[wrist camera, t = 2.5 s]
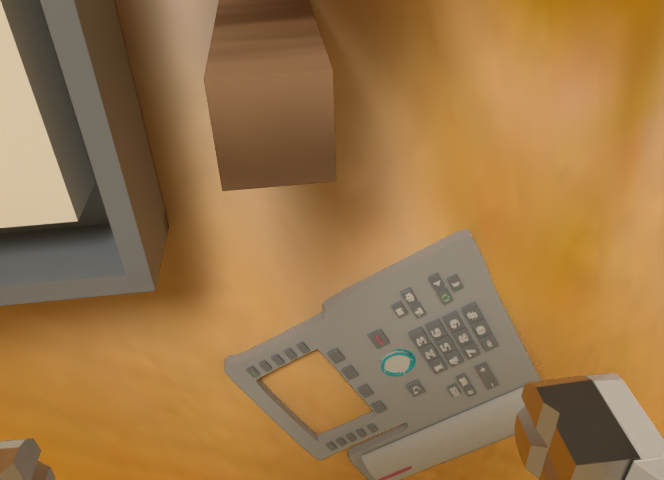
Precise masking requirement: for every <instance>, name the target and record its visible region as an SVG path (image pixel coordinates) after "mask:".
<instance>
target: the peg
mask: <svg viewBox="0 0 664 480" xmlns="http://www.w3.org/2000/svg"><path fill="white" fill-rule="evenodd" d="M204 84H205V90H206V96H207V102H208V108H209V114H210V120H211V126H212V132H213V138H214V144H215V150H216V156H217V162H218V168H219V174H220V180H221V186H222V191H230V190H242V189H253V188H265V187H277V186H289V185H300V184H312V183H324V182H335V181H336V151H335V120H334V89H333V69H332V66H331V63H330V60H329V57H328V54H327V51H326V48H325V45H324V42H323V40H322V37H321V34H320V31H319V28H318V25H317V22H316V19H315V16H314V13H313V10H312V8H311V5H310V2H309V0H219V4H218V9H217V14H216V19H215V24H214V29H213V34H212V39H211V44H210V50H209V55H208V60H207V65H206V70H205V75H204Z"/></svg>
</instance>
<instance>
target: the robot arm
mask: <svg viewBox="0 0 664 480" xmlns="http://www.w3.org/2000/svg"><path fill="white" fill-rule="evenodd" d="M521 398H522V400H523V402H524V404H525V407H524V408H523V409H521V410H520V411H519V412H518V413H517V416H516V421H515V438H516V444H517V448H518V451H519V455H520V457H521V459H522V462H523V464H524V467H525V468H526V469H527V470H528V471H530V472H531V473H532V474H533V475H535V476H536V477H537V478H539V480H664V439H663V437H662V436H661V434H660V433H659V432H658V430H657V429H656V427H655V426H654V424H653V423H652V421H651V420H650V419H649V417H648V416H647V414H646V413H645V411H644V410H643V408H642V407H641V406H640V404H639V403H638V401H637V400H636V398H635V397H634V395H633V394H632V393H631V391H630V390H629V388H628V387H627V385H626V384H625V382H624V381H623V380H622V378H621V377H620V376H618V375H617V374H616V373H605V374H597V375H589V376H574V377H566V378H558V379H550V380H542V381H534V382H528V383H527V384H526V385H525V386H524V388H523V391H522V395H521ZM40 452H41V450H40V448H39V447H38V445H37V444H36V442H35V440H34V439H21V440H10V441H0V480H55V476H54V474H53V472H52V470H51V468H50V467H49V466H47V465H45V464H43V463H41V462H39V461H38V458H39V455H40Z"/></svg>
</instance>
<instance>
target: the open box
mask: <svg viewBox="0 0 664 480" xmlns="http://www.w3.org/2000/svg"><path fill="white" fill-rule="evenodd" d="M168 228H169V225H168V221H167V217H166V213H165V209H164V204H163V200H162V196H161V192H160V188H159V184H158V179H157V175H156V171H155V167H154V163H153V159H152V155H151V150H150V146H149V142H148V138H147V134H146V130H145V125H144V121H143V117H142V113H141V109H140V105H139V101H138V96H137V92H136V88H135V84H134V80H133V76H132V71H131V67H130V63H129V59H128V55H127V51H126V47H125V42H124V38H123V34H122V30H121V26H120V22H119V17H118V13H117V9H116V5H115V1H114V0H0V306H5V305H15V304H25V303H36V302H46V301H56V300H66V299H77V298H87V297H97V296H108V295H118V294H128V293H138V292H149V291H155V289H156V284H157V280H158V275H159V270H160V266H161V261H162V256H163V251H164V247H165V242H166V237H167V233H168Z"/></svg>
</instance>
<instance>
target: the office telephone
mask: <svg viewBox="0 0 664 480" xmlns="http://www.w3.org/2000/svg"><path fill="white" fill-rule="evenodd" d="M322 307H323V310H322V312H320V313H319V314H317V315H315V316H314V317H312V318H310V319H308V320H306V321H304V322H302V323H300V324H299V325H297V326H295V327H293V328H291V329H289V330H287V331H285V332H283V333H281V334H279V335H277V336H275V337H273V338H271V339H269V340H267V341H265V342H263V343H261V344H259V345H257V346H255V347H253V348H251V349H249V350H247V351H245V352H242V353H240V354H236V355H230V356H228V357H227V358H226V359H225V373H226V374H227V375H228V376H229V377H230V378H231V380H232V381H233V382H234V383H235V384H236V385H237V386H239V387H240V388H241V389H242V390H243V391H244V392H245V393H246V394H247V395H248V396H249V397H250V398H251V399H252V400H253V401H254V402H255V403H256V404H257V405H258V406H259V407H260V408H261V409H262V410H263V411H264V412H265V413H266V414H267V415H268V416H269V417H271V418H272V419H273V420H274V421H275V422H276V423H277V424H278V425H279V426H280V427H281V428H282V429H283V430H284V431H285V432H286V433H288V434H289V435H290V436H291V437H292V438H293V439H294V440H295V441H296V442H297V443H298V444H299V445H300V446H301V447H303V448H304V449H305V450H306V451H307V452H309V453H310V454H311V455H312V456H313V457H315V458H316V459H318V460H323V459H326V458H327V457H329V456H331V455H333V454H335V453H337V452H339V451H341V450H344V449H346V448H348V447H350V446H353V445H355V444H357V443H359V442H362V441H364V440H366V439H369V438H371V437H373V436H376V435H378V434H380V433H383V432H385V431H387V430H390V429H392V428H394V427H397V426H399V425H401V426H399V427H397V428H395V429H393V430H390V431H388V432H386V433H384V434H381V435H379V436H377V437H375V438H372V439H370V440H368V441H366V442H363V443H361V444H359V445H357V446H354V447H352V448H351V449H349V450H348V456H349V460H350V461H351V462H352V463H353V465H354V466H355V467H356V468H357V469H358V470H359V471H360V472H361V473H362V474H363V475H364V476H365V477H366V478H367V479H368V480H401V479H403V478H405V477H408V476H410V475H413V474H415V473H418V472H420V471H423V470H425V469H428V468H430V467H432V466H435V465H437V464H441V463H444V462H447V461H450V460H452V459H455V458H457V457H460V456H462V455H465V454H467V453H470V452H473V451H475V450H478V449H480V448H483V447H485V446H488V445H490V444H493V443H495V442H498V441H500V440H503V439H505V438H508V437H510V436H513V435H515V421H516V416H517V413H518V412H519V411H520V410H521V409H523V408H524V407H525V404H524V402H523V400H522V398H521V395H522V391H523V388H524V386H525V385H526V384H527V383H528V382H534V381H541V380H540V378H539V376H538V374H537V372H536V370H535V368H534V366H533V364H532V362H531V360H530V358H529V356H528V354H527V352H526V350H525V348H524V346H523V344H522V342H521V340H520V338H519V335H518V333H517V331H516V329H515V327H514V325H513V323H512V321H511V319H510V317H509V315H508V313H507V311H506V309H505V307H504V305H503V303H502V301H501V299H500V297H499V295H498V293H497V291H496V289H495V287H494V285H493V283H492V281H491V278H490V273H489V271H488V269H487V266H486V264H485V262H484V260H483V257H482V255H481V253H480V251H479V249H478V247H477V245H476V243H475V241H474V239H473V237H472V235H471V233H470V232H469V230H468V229H465V230H461V231H458V232H456V233H454V234H452V235H449V236H447V237H445V238H443V239H442V240H440V241H438V242H436V243H434V244H432V245H430V246H428V247H426V248H424V249H422V250H420V251H418V252H416V253H414V254H412V255H410V256H408V257H407V258H405V259H403V260H401V261H399V262H397V263H395V264H393V265H391V266H389V267H387V268H385V269H383V270H381V271H379V272H377V273H375V274H373V275H372V276H370V277H368V278H366V279H364V280H362V281H360V282H358V283H356V284H354V285H352V286H350V287H348V288H346V289H344V290H342V291H340V292H339V293H337V294H335V295H334V296H332V297H330V298H329V299H327V300H326V301H325V302H324V303H323V306H322ZM316 349H318V350H319V351H320V352H321V353H322V354H323V355H324V356H325V357H326V358H327V359H328V361H329V362H330V363H331V364H332V365H333V366H334V367H335V368H336V369H337V371H338V372H339V373H340V374H341V375H342V376H343V377H344V378H345V379H346V381H347V382H348V383H349V384H350V385H351V386H352V387H353V389H354V390H355V391H356V392H357V393H358V394H359V395H360V396H361V398H362V399H363V400H364V401H365V402H366V403H367V404H368V406H369V407H370V408H371V409H372V412H370V413H367V414H365V415H363V416H361V417H358V418H356V419H354V420H352V421H349V422H347V423H345V424H343V425H340V426H338V427H336V428H333V429H331V430H329V431H326V432H324V433H322V434H319V435H317V434H315V433H314V432H313V431H312V430H311V429H310V428H309V427H308V426H307V425H306V424H305V423H304V422H302V421H301V420H300V419H299V418H298V417H297V416H296V415H295V414H294V413H293V412H292V411H291V410H290V409H289V408H288V407H287V406H286V405H285V404H284V403H283V402H282V401H281V400H280V399H279V398H278V397H277V396H276V395H275V394H274V393H273V392H272V391H271V390H270V389H269V388H268V387H267V386H266V385H265V384H264V383H263V381H262V380H261V379H260V377H262V376H264V375H266V374H268V373H270V372H272V371H274V370H276V369H278V368H280V367H282V366H284V365H285V364H287V363H289V362H291V361H293V360H295V359H297V358H299V357H302V356H304V355H306V354H308V353H310V352H312V351H314V350H316ZM411 355H412V356H411ZM402 424H403V425H402Z"/></svg>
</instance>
